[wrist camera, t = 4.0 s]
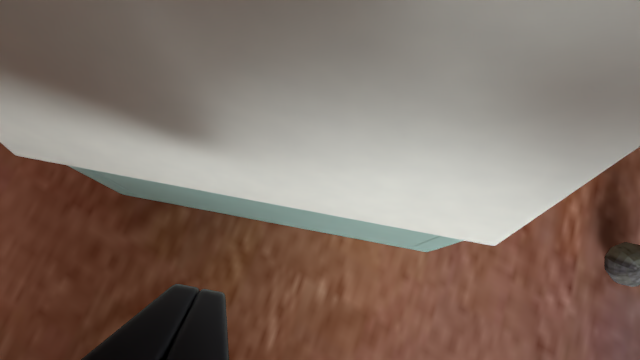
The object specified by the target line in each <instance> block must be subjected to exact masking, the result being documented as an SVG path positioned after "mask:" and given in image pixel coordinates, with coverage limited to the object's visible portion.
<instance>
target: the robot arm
mask: <svg viewBox="0 0 640 360" xmlns="http://www.w3.org/2000/svg"><path fill="white" fill-rule="evenodd" d="M81 360H229V350H228V333H227V316H226V299H225V295H224V293H222V292H217V291H212V290H207V289H202V290H201V291H199V289H198V288H196V287H192V286H186V285H181V284H175V285H173V286H171V287H170V288H169V289H167V290H166V291H165V292H164V293H163V294H161V295H160V296H159V297H158V298H156V299H155V300H154V301H153V302H151V303H150V304H149V305H148V306H147V307H145V308H144V309H143V310H142V311H140V312H139V313H138V314H137V315H135V316H134V317H133V318H132V319H130V320H129V321H128V322H127V323H126V324H124V325H123V326H122V327H121V328H119V329H118V330H117V331H116V332H114V333H113V334H112V335H111V336H109V337H108V338H107V339H106V340H105V341H103V342H102V343H101V344H100V345H98V346H97V347H96V348H95V349H93V350H92V351H91V352H90V353H88V354H87V355H86V356H85V357H84V358H82V359H81Z"/></svg>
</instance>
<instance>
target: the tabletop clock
mask: <svg viewBox="0 0 640 360" xmlns="http://www.w3.org/2000/svg"><path fill="white" fill-rule="evenodd" d="M604 266H605V270H606V271H607V273H608V274H609V275H610V277H611V278H612V279H613V280H614V281H615V282H616V283H619V284H622V285H627V286H631V287H634V286H638V285H640V245H637V244H632V243H628V242H624V243H620V244H618V245H615V246H613V247H611V248H610V250H609V251H608V252H607V254H606V255H605V265H604Z"/></svg>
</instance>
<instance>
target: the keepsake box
mask: <svg viewBox="0 0 640 360" xmlns="http://www.w3.org/2000/svg"><path fill="white" fill-rule="evenodd" d="M67 166H69V165H67ZM69 167H71V168H73V169H75V170H77V171H78V172H80V173H82V174H84V175H86V176H88V177H90V178H92V179H94V180H96V181H97V182H99V183H101V184H103V185H105V186H107V187H109V188H111V189H113V190H115V191H116V192H118V193H120V194H123V195H128V196H133V197H139V198H144V199H149V200H154V201H160V202H165V203H170V204H175V205H181V206H186V207H191V208H197V209H202V210H207V211H212V212H218V213H223V214H228V215H233V216H239V217H244V218H249V219H255V220H260V221H265V222H270V223H276V224H281V225H286V226H291V227H297V228H302V229H307V230H313V231H318V232H323V233H328V234H334V235H339V236H344V237H349V238H355V239H360V240H365V241H371V242H376V243H381V244H386V245H392V246H397V247H402V248H407V249H413V250H418V251H423V252H429V251H432V250H436V249H439V248H442V247H445V246H448V245H452V244H455V243H458V242H461V241H464V240H459V239H454V238H449V237H444V236H438V235H433V234H428V233H423V232H417V231H412V230H407V229H401V228H396V227H391V226H386V225H380V224H375V223H370V222H364V221H359V220H354V219H349V218H343V217H338V216H333V215H327V214H322V213H317V212H312V211H306V210H301V209H296V208H290V207H285V206H280V205H275V204H269V203H264V202H259V201H253V200H248V199H243V198H238V197H232V196H227V195H222V194H216V193H211V192H206V191H201V190H195V189H190V188H185V187H180V186H174V185H169V184H164V183H158V182H153V181H148V180H143V179H137V178H132V177H127V176H121V175H116V174H111V173H106V172H100V171H95V170H90V169H84V168H79V167H74V166H69Z"/></svg>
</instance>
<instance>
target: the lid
mask: <svg viewBox="0 0 640 360" xmlns="http://www.w3.org/2000/svg"><path fill="white" fill-rule="evenodd" d="M0 143H2V144H3V145H4V146H5V147H6V148H7V149H9V150H10V151H11V152H12V153H13V154H15V155H16V156H21V157H26V158H32V159H37V160H42V161H47V162H53V163H58V164H63V165H69V166H74V167H79V168H84V169H90V170H95V171H100V172H106V173H111V174H116V175H121V176H127V177H132V178H137V179H143V180H148V181H153V182H158V183H164V184H169V185H174V186H180V187H185V188H190V189H195V190H201V191H206V192H211V193H216V194H222V195H227V196H232V197H238V198H243V199H248V200H253V201H259V202H264V203H269V204H275V205H280V206H285V207H290V208H296V209H301V210H306V211H312V212H317V213H322V214H327V215H333V216H338V217H343V218H349V219H354V220H359V221H364V222H370V223H375V224H380V225H386V226H391V227H396V228H401V229H407V230H412V231H417V232H423V233H428V234H433V235H438V236H444V237H449V238H454V239H459V240H465V241H470V242H475V243H481V244H486V245H491V246H495V245H497V244H498V243H500V242H501V241H503V240H504V239H506V238H507V237H509V236H510V235H511V234H513V233H514V232H516V231H517V230H519V229H520V228H522V227H523V226H525V225H526V224H528V223H529V222H530V221H532V220H533V219H535V218H536V217H538V216H539V215H541V214H542V213H544V212H545V211H546V210H548V209H549V208H551V207H552V206H554V205H555V204H557V203H558V202H560V201H561V200H563V199H564V198H565V197H567V196H568V195H570V194H571V193H573V192H574V191H576V190H577V189H579V188H580V187H581V186H583V185H584V184H586V183H587V182H589V181H590V180H592V179H593V178H595V177H596V176H598V175H599V174H600V173H602V172H603V171H605V170H606V169H608V168H609V167H611V166H612V165H614V164H615V163H616V162H618V161H619V160H621V159H622V158H624V157H625V156H627V155H628V154H630V153H631V152H632V151H634V150H635V149H637V148H638V147H640V0H0Z"/></svg>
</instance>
